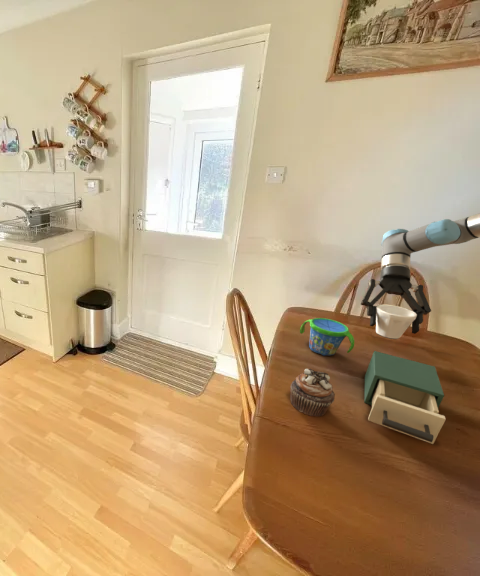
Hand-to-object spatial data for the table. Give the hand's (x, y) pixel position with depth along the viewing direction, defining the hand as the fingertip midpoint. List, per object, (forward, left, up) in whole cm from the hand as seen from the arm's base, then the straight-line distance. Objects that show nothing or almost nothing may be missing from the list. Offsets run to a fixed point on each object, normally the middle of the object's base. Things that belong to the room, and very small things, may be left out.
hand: (393, 328), depth 102 cm
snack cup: (+17, +11, -10) cm, 22 cm away
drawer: (-1, +39, -9) cm, 40 cm away
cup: (0, -3, -4) cm, 5 cm away
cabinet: (-1, +27, -10) cm, 29 cm away
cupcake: (+17, +45, -10) cm, 49 cm away
